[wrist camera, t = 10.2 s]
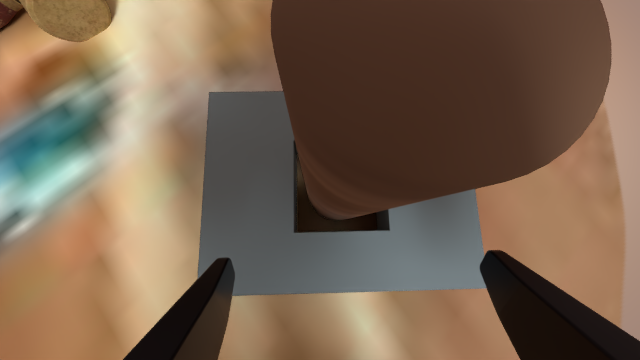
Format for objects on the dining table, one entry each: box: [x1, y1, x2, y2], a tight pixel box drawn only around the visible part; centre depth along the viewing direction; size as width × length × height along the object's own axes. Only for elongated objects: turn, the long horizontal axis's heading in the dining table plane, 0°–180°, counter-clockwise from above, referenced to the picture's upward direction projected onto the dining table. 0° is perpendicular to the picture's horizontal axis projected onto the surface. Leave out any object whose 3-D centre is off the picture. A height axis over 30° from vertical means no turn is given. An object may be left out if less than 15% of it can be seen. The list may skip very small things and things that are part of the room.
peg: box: [271, 0, 611, 221], centre depth 10 cm, size 4×4×15 cm
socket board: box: [198, 91, 486, 296], centre depth 16 cm, size 12×16×3 cm
